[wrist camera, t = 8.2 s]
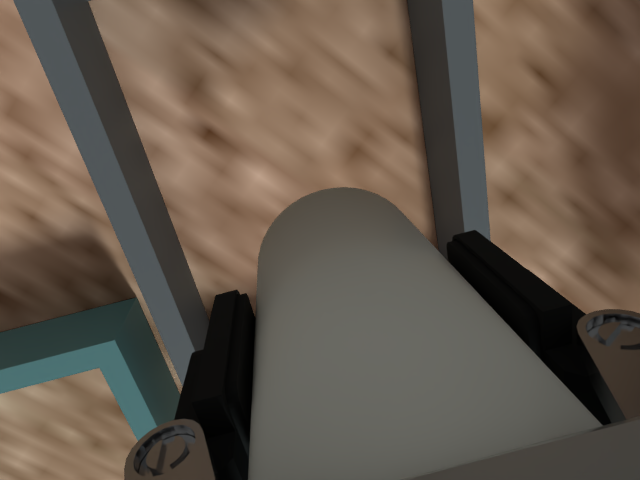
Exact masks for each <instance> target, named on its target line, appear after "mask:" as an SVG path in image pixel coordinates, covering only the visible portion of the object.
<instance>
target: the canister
mask: <svg viewBox="0 0 640 480" xmlns="http://www.w3.org/2000/svg"><path fill="white" fill-rule="evenodd" d="M600 426H603V425H602V424H601V423H600V422H599V421H598V420H597V419H596V418H595V417H594V416H593V415H592V414H591V413H590V411H589V410H588V409H587V408H586V407H585V406H584V405H583V404H582V403H581V402H580V401H579V400H578V399H577V398H576V397H575V396H574V394H573V393H572V392H571V391H570V390H569V389H568V388H567V387H566V386H565V385H564V384H563V383H562V382H561V381H560V380H559V379H558V377H557V376H556V375H555V374H554V373H553V372H552V371H551V370H550V369H549V368H548V367H547V366H546V365H545V364H544V363H543V362H542V360H541V359H540V358H539V357H538V356H537V355H536V354H535V353H534V352H533V351H532V350H531V349H530V348H529V347H528V346H527V345H526V343H525V342H524V341H523V340H522V339H521V338H520V337H519V336H518V335H517V334H516V333H515V332H514V331H513V330H512V329H511V328H510V326H509V325H508V324H507V323H506V322H505V321H504V320H503V319H502V318H501V317H500V316H499V315H498V314H497V313H496V312H495V311H494V309H493V308H492V307H491V306H490V305H489V304H488V303H487V302H486V301H485V300H484V299H483V298H482V297H481V296H480V295H479V294H478V292H477V291H476V290H475V289H474V288H473V287H472V286H471V285H470V284H469V283H468V282H467V281H466V280H465V279H464V278H463V277H462V275H461V274H460V273H459V272H458V271H457V270H456V269H455V268H454V267H453V266H452V265H451V264H450V263H449V262H448V261H447V260H446V258H445V257H444V256H443V255H442V254H441V253H440V252H439V251H438V250H437V249H436V248H435V247H434V246H433V245H432V244H431V243H430V241H429V240H428V239H427V238H426V237H425V236H424V235H423V234H422V233H421V232H420V231H419V230H418V229H417V228H416V227H415V226H414V224H413V223H412V222H411V221H410V220H409V219H408V218H407V217H406V216H405V215H404V214H403V213H402V212H401V211H400V210H399V209H398V208H397V207H396V206H395V205H394V204H392V203H391V202H390V201H388V200H387V199H385V198H383V197H381V196H379V195H378V194H375V193H372V192H370V191H367V190H362V189H358V188H348V187H340V188H330V189H324V190H320V191H317V192H314V193H311V194H309V195H307V196H305V197H302V198H300V199H299V200H297V201H296V202H294V203H292V204H291V205H290V206H289V207H287V208H286V209H285V210H284V211H283V212H282V213H281V214H280V215H279V216H278V217H277V218H276V219H275V220H274V222H273V223H272V225H271V226H270V227H269V229H268V231H267V233H266V235H265V237H264V239H263V242H262V244H261V247H260V252H259V257H258V272H257V294H256V316H255V338H254V360H253V382H252V404H251V426H250V447H249V469H248V480H400V479H404V478H408V477H412V476H416V475H420V474H424V473H428V472H431V471H435V470H439V469H443V468H447V467H451V466H454V465H458V464H462V463H465V462H469V461H473V460H477V459H480V458H484V457H488V456H491V455H495V454H498V453H502V452H506V451H509V450H513V449H516V448H520V447H524V446H527V445H531V444H534V443H538V442H542V441H545V440H549V439H553V438H557V437H561V436H565V435H569V434H573V433H576V432H580V431H584V430H588V429H592V428H596V427H600Z"/></svg>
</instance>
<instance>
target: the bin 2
mask: <svg viewBox="0 0 640 480" xmlns="http://www.w3.org/2000/svg"><path fill="white" fill-rule="evenodd" d="M13 1H14V3H15V5H16V7H17V10H18V12H19V14H20V16H21V19H22V21H23V23H24V26H25V28H26V30H27V32H28V35H29V37H30V39H31V42H32V44H33V46H34V48H35V51H36V53H37V55H38V58H39V60H40V62H41V64H42V67H43V69H44V71H45V73H46V76H47V78H48V80H49V83H50V85H51V87H52V89H53V92H54V94H55V96H56V99H57V101H58V103H59V105H60V108H61V110H62V112H63V115H64V117H65V119H66V121H67V124H68V126H69V128H70V130H71V133H72V135H73V137H74V140H75V142H76V144H77V146H78V149H79V151H80V153H81V156H82V158H83V160H84V162H85V165H86V167H87V169H88V171H89V174H90V176H91V178H92V181H93V183H94V185H95V187H96V190H97V192H98V194H99V197H100V199H101V201H102V203H103V206H104V208H105V210H106V213H107V215H108V217H109V219H110V222H111V224H112V226H113V228H114V231H115V233H116V235H117V238H118V240H119V242H120V244H121V247H122V249H123V251H124V254H125V256H126V258H127V260H128V263H129V265H130V267H131V270H132V272H133V274H134V276H135V279H136V281H137V283H138V285H139V288H140V290H141V292H142V295H143V297H144V299H145V301H146V304H147V306H148V308H149V311H150V313H151V315H152V317H153V320H154V322H155V324H156V327H157V329H158V331H159V333H160V336H161V338H162V340H163V342H164V345H165V347H166V349H167V352H168V354H169V356H170V358H171V361H172V363H173V365H174V368H175V370H176V372H177V374H178V377H179V379H180V381H181V384H182V386H183V384H184V380H185V376H186V372H187V369H188V365H189V361H190V357H191V355H192V353H193V352H195V351H198V350H202V349H203V348H204V344H205V339H206V335H207V331H208V326H209V319H208V316H207V314H206V311H205V309H204V306H203V303H202V301H201V298H200V295H199V293H198V290H197V288H196V285H195V282H194V280H193V277H192V274H191V272H190V269H189V266H188V264H187V261H186V259H185V256H184V253H183V251H182V248H181V245H180V243H179V240H178V238H177V235H176V232H175V230H174V227H173V224H172V222H171V219H170V216H169V214H168V211H167V209H166V206H165V203H164V201H163V198H162V195H161V193H160V190H159V188H158V185H157V182H156V180H155V177H154V174H153V172H152V169H151V166H150V164H149V161H148V159H147V156H146V153H145V151H144V148H143V145H142V143H141V140H140V137H139V135H138V132H137V130H136V127H135V124H134V122H133V119H132V116H131V114H130V111H129V109H128V106H127V103H126V101H125V98H124V95H123V93H122V90H121V87H120V85H119V82H118V80H117V77H116V74H115V72H114V69H113V66H112V64H111V61H110V59H109V56H108V53H107V51H106V48H105V45H104V43H103V40H102V37H101V35H100V32H99V30H98V27H97V24H96V22H95V19H94V16H93V14H92V11H91V8H90V6H89V3H88V1H91V0H13ZM407 2H408V10H409V18H410V26H411V34H412V42H413V50H414V58H415V66H416V74H417V81H418V89H419V97H420V105H421V113H422V121H423V129H424V137H425V145H426V153H427V161H428V169H429V177H430V185H431V193H432V201H433V209H434V217H435V225H436V233H437V241H438V249H439V252H440V253H441V254H442V255H443V256H444V257H445V258H446V260H447V261H448V256H447V247H446V246H447V242H451V241H452V237H453V235H456V234H460V233H464V232H468V231H472V230H476V231H478V232H479V233H480V234H482V235H483V236H484V237H486V238H487V239H488V240H489V241H490V228H489V214H488V201H487V187H486V174H485V160H484V146H483V133H482V119H481V106H480V92H479V79H478V65H477V51H476V38H475V24H474V11H473V0H407Z"/></svg>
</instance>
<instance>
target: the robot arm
mask: <svg viewBox="0 0 640 480" xmlns="http://www.w3.org/2000/svg"><path fill="white" fill-rule="evenodd" d="M446 247H447V256H448V262H449V263H450V264H451V265H452V266H453V267H454V268H455V269H456V270H457V271H458V272H459V273H460V274H461V275H462V277H463V278H464V279H465V280H466V281H467V282H468V283H469V284H470V285H471V286H472V287H473V288H474V289H475V290H476V291H477V292H478V294H479V295H480V296H481V297H482V298H483V299H484V300H485V301H486V302H487V303H488V304H489V305H490V306H491V307H492V308H493V309H494V311H495V312H496V313H497V314H498V315H499V316H500V317H501V318H502V319H503V320H504V321H505V322H506V323H507V324H508V325H509V326H510V328H511V329H512V330H513V331H514V332H515V333H516V334H517V335H518V336H519V337H520V338H521V339H522V340H523V341H524V342H525V343H526V345H527V346H528V347H529V348H530V349H531V350H532V351H533V352H534V353H535V354H536V355H537V356H538V357H539V358H540V359H541V360H542V362H543V363H544V364H545V365H546V366H547V367H548V368H549V369H550V370H551V371H552V372H553V373H554V374H555V375H556V376H557V377H558V379H559V380H560V381H561V382H562V383H563V384H564V385H565V386H566V387H567V388H568V389H569V390H570V391H571V392H572V393H573V394H574V396H575V397H576V398H577V399H578V400H579V401H580V402H581V403H582V404H583V405H584V406H585V407H586V408H587V409H588V410H589V411H590V413H591V414H592V415H593V416H594V417H595V418H596V419H597V420H598V421H599V422H600V423H601V424H602V425H603V426H600V427H596V428H592V429H588V430H584V431H580V432H576V433H573V434H569V435H565V436H561V437H557V438H553V439H549V440H545V441H542V442H538V443H534V444H531V445H527V446H524V447H520V448H516V449H513V450H509V451H506V452H502V453H498V454H495V455H491V456H488V457H484V458H480V459H477V460H473V461H469V462H465V463H462V464H458V465H454V466H451V467H447V468H443V469H439V470H435V471H431V472H428V473H424V474H420V475H416V476H412V477H408V478H404V479H400V480H640V313H637V312H633V311H627V310H620V309H605V310H599V311H594V312H591V313H589V314H585V313H584V312H582V311H581V310H580V309H578V308H577V307H576V306H575V305H573V304H572V303H571V302H569V301H568V300H567V299H565V298H564V297H563V296H562V295H560V294H559V293H558V292H556V291H555V290H554V289H553V288H551V287H550V286H549V285H547V284H546V283H545V282H543V281H542V280H541V279H540V278H538V277H537V276H536V275H534V274H533V273H532V272H530V271H529V270H527V269H526V268H524V267H523V266H522V265H520V264H519V263H518V262H517V261H515V260H514V259H513V258H511V257H510V256H509V255H508V254H506V253H505V252H504V251H502V250H501V249H500V248H499V247H497V246H496V245H495V244H493V243H492V242H491V241H489V240H488V239H487V238H486V237H484V236H483V235H482V234H480V233H479V232H478V231H476V230H472V231H468V232H464V233H460V234H456V235H453V237H452V241H451V242H447V246H446ZM254 338H255V316H254V313H253V310H252V307H251V304H250V300H249V298H248V295H247V294H246V293H245V294H241V295H240V294H239V292H238V290H234V291H230V292H226V293H223V294H219V295H216V296H215V300H214V304H213V308H212V313H211V317H210V322H209V326H208V331H207V335H206V339H205V344H204V348H203V349H202V350H198V351H195V352H193V353H192V355H191V357H190V361H189V365H188V369H187V372H186V376H185V380H184V384H183V388H182V391H181V395H180V399H179V403H178V407H177V410H176V414H175V418H174V420H172V421H169V422H166V423H164V424H161V425H159V426H158V427H156V428H154V429H152V430H151V431H149V432H148V433H147V434H146V435H144V436H143V437H142V438H141V439H140V440H139V441H138V442H137V443H136V444H135V445H134V447H133V448H132V449H131V451H130V453H129V455H128V457H127V458H126V463H125V468H124V480H248V469H249V447H250V426H251V404H252V382H253V360H254Z"/></svg>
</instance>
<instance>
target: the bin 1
mask: <svg viewBox="0 0 640 480" xmlns="http://www.w3.org/2000/svg"><path fill="white" fill-rule="evenodd" d="M96 368H100V370H101V371H102V373H103V375H104V377H105V379H106V381H107V383H108V385H109V387H110V389H111V391H112V392H113V394H114V396H115V398H116V400H117V402H118V404H119V406H120V408H121V410H122V412H123V413H124V415H125V417H126V419H127V421H128V423H129V425H130V427H131V429H132V431H133V433H134V435H135V436H136V438H137V440H138V441H139V440H140V439H141V438H142V437H143V436H144V435H146V434H147V433H148V432H149V431H151V430H152V429H154V428H156V427H158V426H159V425H161V424H164V423H166V422H169V421H172V420H174V418H175V414H176V410H177V407H178V403H179V399H180V394H179V391H178V389H177V387H176V385H175V382H174V380H173V378H172V376H171V373H170V371H169V369H168V367H167V364H166V362H165V360H164V358H163V356H162V353H161V351H160V349H159V347H158V344H157V342H156V340H155V338H154V335H153V333H152V331H151V329H150V326H149V324H148V322H147V320H146V317H145V315H144V313H143V311H142V308H141V306H140V304H139V302H138V299H137V297H136V298H132V299H128V300H124V301H121V302H117V303H113V304H109V305H105V306H101V307H97V308H93V309H90V310H86V311H82V312H78V313H74V314H70V315H66V316H62V317H59V318H55V319H51V320H47V321H43V322H39V323H35V324H31V325H28V326H24V327H20V328H16V329H12V330H8V331H4V332H0V394H1V393H5V392H8V391H12V390H16V389H20V388H24V387H27V386H31V385H35V384H39V383H43V382H46V381H50V380H54V379H58V378H62V377H65V376H69V375H73V374H77V373H81V372H84V371H88V370H92V369H96Z"/></svg>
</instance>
